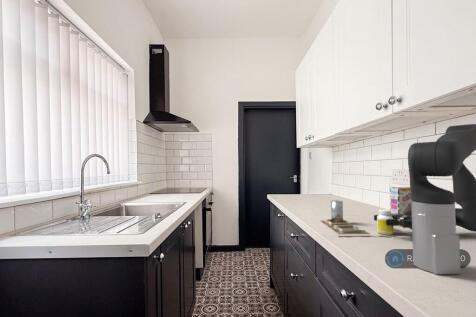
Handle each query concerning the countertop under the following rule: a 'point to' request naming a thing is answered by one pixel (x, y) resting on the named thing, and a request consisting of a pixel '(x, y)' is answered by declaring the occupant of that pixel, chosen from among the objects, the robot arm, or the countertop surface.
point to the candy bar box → (400, 200)
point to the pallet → (345, 228)
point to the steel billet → (336, 211)
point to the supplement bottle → (384, 223)
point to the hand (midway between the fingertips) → (380, 220)
